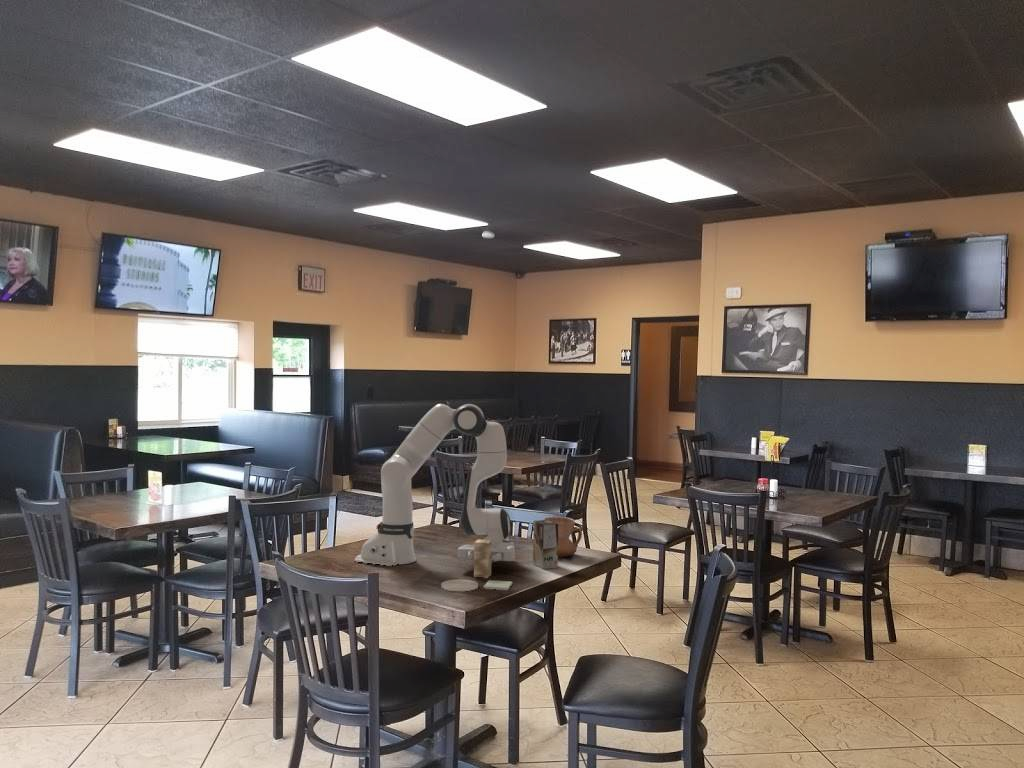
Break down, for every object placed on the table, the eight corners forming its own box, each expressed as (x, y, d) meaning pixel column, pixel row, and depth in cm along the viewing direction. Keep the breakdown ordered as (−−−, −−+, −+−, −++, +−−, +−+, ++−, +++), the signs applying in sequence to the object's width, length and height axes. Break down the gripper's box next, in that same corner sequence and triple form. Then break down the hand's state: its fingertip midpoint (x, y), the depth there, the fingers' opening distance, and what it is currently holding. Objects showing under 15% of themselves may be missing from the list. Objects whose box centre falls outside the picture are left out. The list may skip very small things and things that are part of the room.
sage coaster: (483, 588, 247) (483, 586, 247) (488, 582, 255) (488, 580, 255) (507, 590, 245) (507, 587, 245) (512, 584, 253) (512, 581, 253)
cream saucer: (436, 590, 244) (436, 587, 244) (446, 581, 255) (446, 578, 255) (473, 593, 241) (473, 590, 241) (481, 583, 253) (481, 580, 253)
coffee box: (558, 567, 276) (559, 523, 276) (542, 569, 274) (543, 524, 274) (547, 562, 285) (548, 519, 285) (531, 563, 282) (532, 520, 282)
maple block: (473, 577, 261) (474, 542, 261) (477, 573, 266) (477, 539, 266) (488, 578, 260) (488, 543, 260) (491, 574, 265) (491, 540, 265)
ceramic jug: (539, 560, 288) (541, 522, 288) (532, 551, 302) (534, 515, 302) (586, 560, 291) (587, 523, 291) (577, 551, 305) (578, 516, 305)
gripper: (462, 539, 277) (452, 547, 264) (517, 542, 274) (510, 550, 260) (462, 556, 277) (452, 565, 264) (517, 559, 274) (510, 568, 260)
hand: (481, 557), depth 262 cm, fingers open, 7 cm apart
